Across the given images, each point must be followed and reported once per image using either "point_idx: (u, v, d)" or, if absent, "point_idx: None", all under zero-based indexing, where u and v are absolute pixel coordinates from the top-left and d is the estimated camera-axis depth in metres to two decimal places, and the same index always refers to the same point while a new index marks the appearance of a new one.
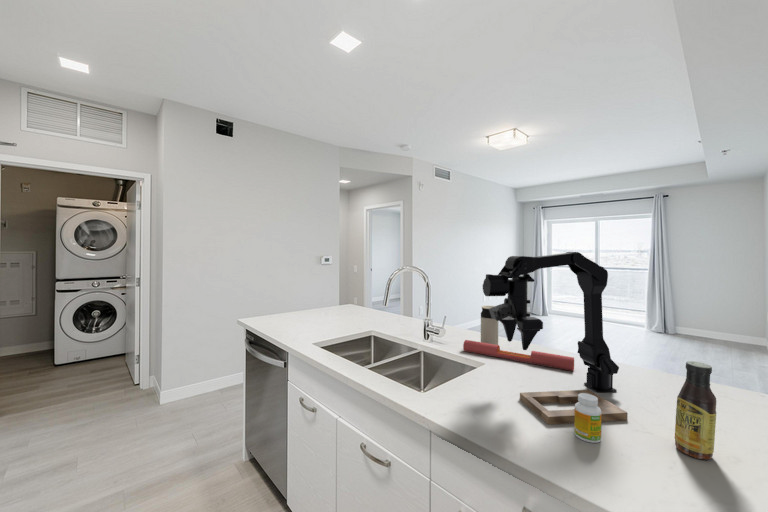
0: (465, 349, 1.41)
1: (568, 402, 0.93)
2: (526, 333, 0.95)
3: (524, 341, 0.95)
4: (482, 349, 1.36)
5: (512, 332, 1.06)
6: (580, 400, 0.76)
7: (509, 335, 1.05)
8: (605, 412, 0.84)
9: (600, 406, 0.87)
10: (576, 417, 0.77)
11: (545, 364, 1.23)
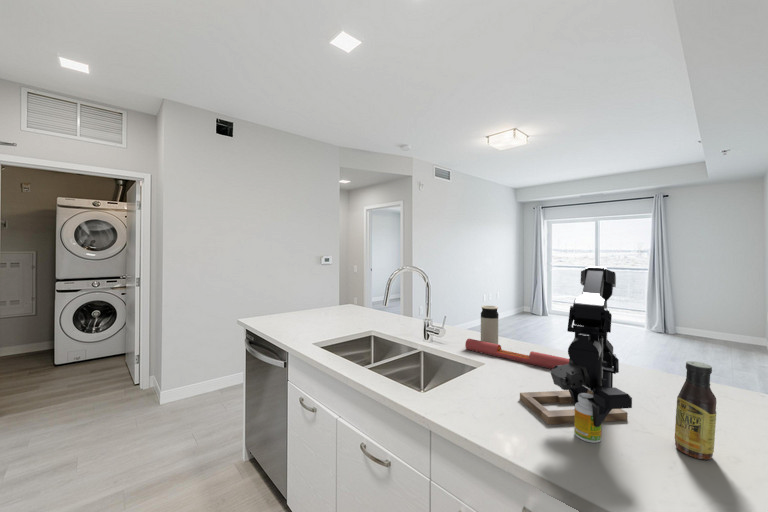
0: (467, 347, 1.43)
1: (568, 402, 0.93)
2: (600, 406, 0.72)
3: (597, 416, 0.73)
4: (483, 348, 1.38)
5: None
6: (580, 400, 0.76)
7: None
8: None
9: None
10: (576, 417, 0.77)
11: (543, 365, 1.22)
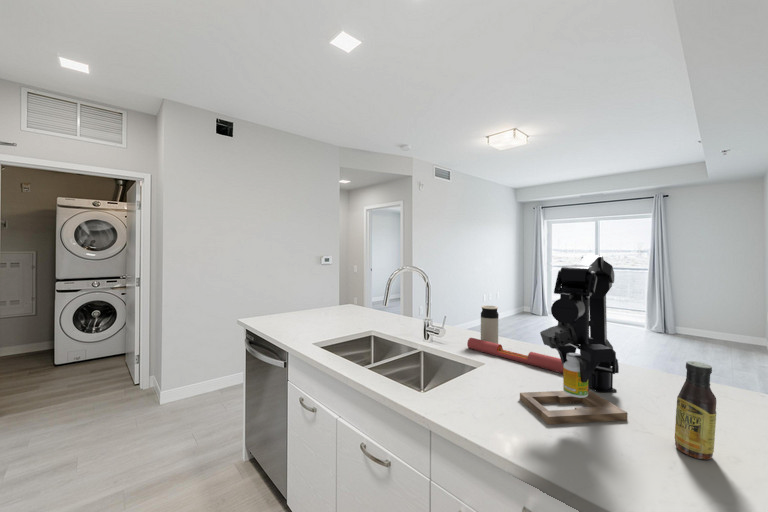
0: (469, 346, 1.45)
1: (568, 402, 0.93)
2: (586, 362, 0.77)
3: (584, 372, 0.77)
4: (484, 347, 1.39)
5: None
6: (568, 359, 0.81)
7: None
8: (605, 412, 0.84)
9: (600, 406, 0.87)
10: (565, 375, 0.81)
11: (541, 366, 1.21)
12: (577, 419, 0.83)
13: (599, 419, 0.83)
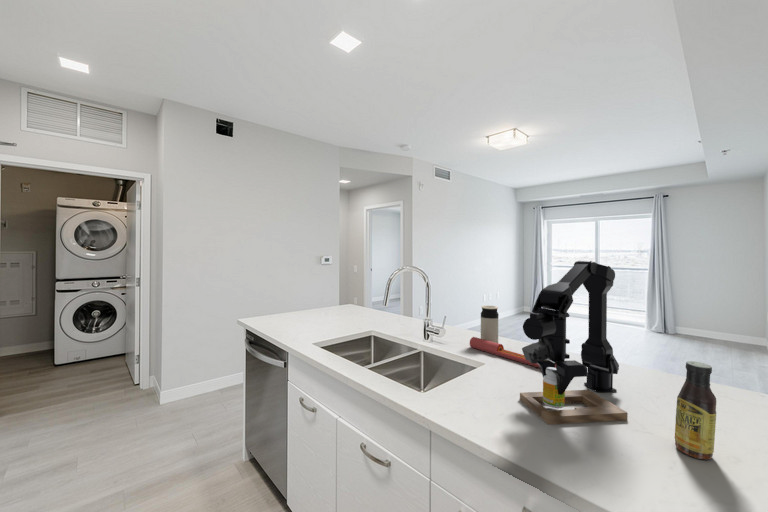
0: (471, 345, 1.46)
1: (568, 402, 0.93)
2: (562, 376, 0.85)
3: (560, 385, 0.85)
4: (485, 346, 1.40)
5: None
6: (547, 372, 0.89)
7: None
8: (605, 412, 0.84)
9: (600, 406, 0.87)
10: (544, 387, 0.89)
11: None
12: (577, 419, 0.83)
13: (599, 419, 0.83)
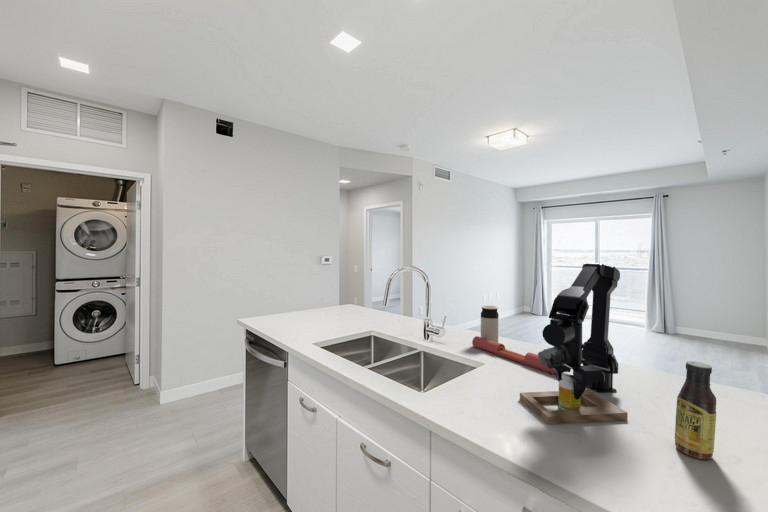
0: (474, 345, 1.48)
1: None
2: (579, 381, 0.86)
3: (577, 390, 0.86)
4: (486, 346, 1.41)
5: None
6: (563, 377, 0.90)
7: None
8: (605, 412, 0.84)
9: (600, 406, 0.87)
10: (560, 392, 0.90)
11: (537, 367, 1.20)
12: (577, 419, 0.83)
13: (599, 419, 0.83)
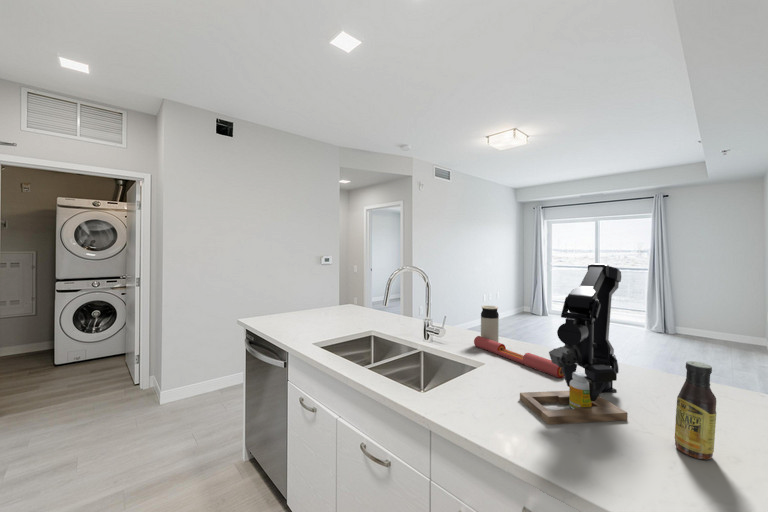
0: (475, 344, 1.48)
1: (568, 402, 0.93)
2: (595, 383, 0.84)
3: (593, 392, 0.85)
4: (487, 346, 1.41)
5: None
6: (574, 377, 0.90)
7: (569, 380, 0.95)
8: (605, 412, 0.84)
9: (600, 406, 0.87)
10: (571, 392, 0.90)
11: (534, 367, 1.20)
12: (577, 419, 0.83)
13: (599, 419, 0.83)
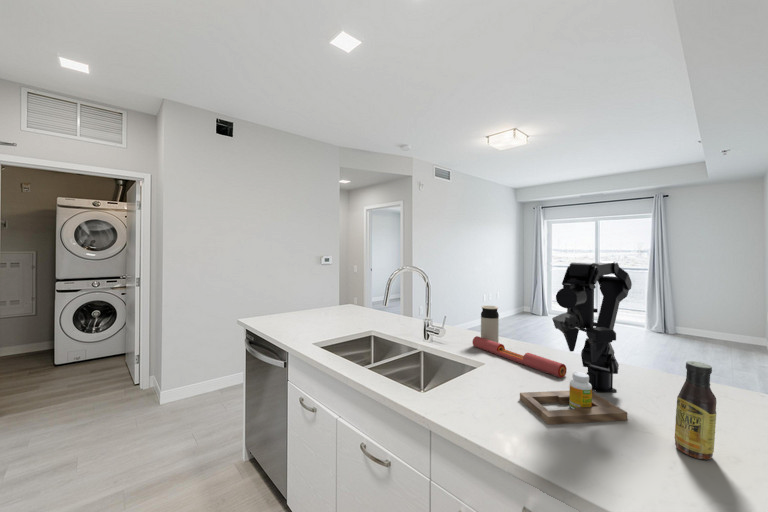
0: (474, 344, 1.48)
1: (568, 402, 0.93)
2: (596, 344, 0.90)
3: (594, 352, 0.90)
4: (486, 346, 1.41)
5: (574, 341, 1.01)
6: (574, 377, 0.90)
7: (571, 345, 1.01)
8: (605, 412, 0.84)
9: (600, 406, 0.87)
10: (571, 392, 0.90)
11: (535, 367, 1.20)
12: (577, 419, 0.83)
13: (599, 419, 0.83)
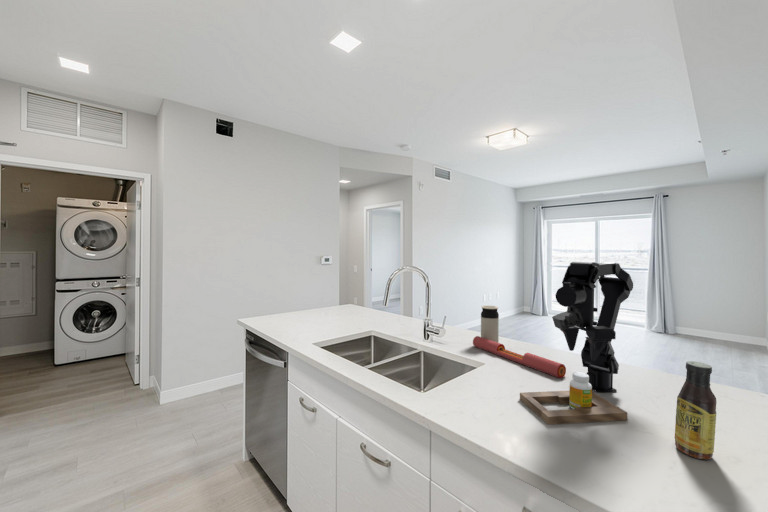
0: (474, 344, 1.48)
1: (568, 402, 0.93)
2: (596, 343, 0.91)
3: (593, 351, 0.91)
4: (486, 346, 1.41)
5: (574, 340, 1.01)
6: (574, 377, 0.90)
7: (571, 344, 1.01)
8: (605, 412, 0.84)
9: (600, 406, 0.87)
10: (571, 392, 0.90)
11: (534, 367, 1.20)
12: (577, 419, 0.83)
13: (599, 419, 0.83)
